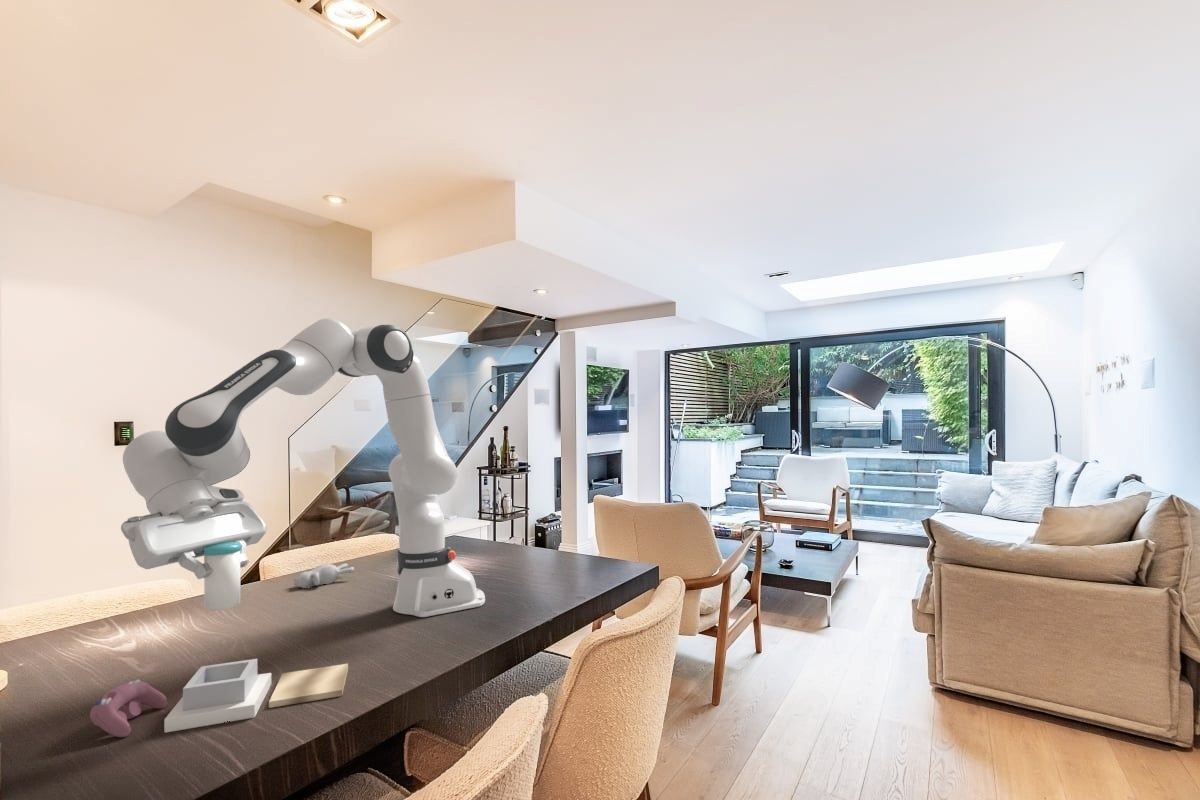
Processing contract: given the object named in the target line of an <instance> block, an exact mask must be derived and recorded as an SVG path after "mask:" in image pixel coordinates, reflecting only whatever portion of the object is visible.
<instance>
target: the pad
mask: <svg viewBox="0 0 1200 800" xmlns="http://www.w3.org/2000/svg"><path fill="white" fill-rule="evenodd" d="M348 671H349V663H342V664H337V665H330V666H322V667H316V668H309V669H303V670H295V671H289V672H282V673H281V676H280V678H279V680H278V682H277V684H276V687H275V689H274V690H273V692H272V694H271V697H270V698H269V701H268V709H271V708H277V707H283V706H284V707H285V706H289V705H295V704H301V703H307V702H313V701H318V700H325V699H330V698H331V699H332V698H336V697H343V693H344V690H345V685H346V680H347V675H348Z"/></svg>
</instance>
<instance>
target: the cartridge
mask: <svg viewBox="0 0 1200 800" xmlns="http://www.w3.org/2000/svg"><path fill="white" fill-rule="evenodd" d="M240 550H241V543H240V542H225V543H220V544H216V545H211V546H207V547H204V556H203V560H204V561H203V564H204V563H208V564H209V565H210V566H209V567H210V568H211V569H212V573H211V574H210V575H209V577H205V578H203V579H204V583H203V584H204V585H203V587H204V591H203V593H204V598H203V599H204V601H203V602H204V606H203V607H204V610H205V611H208V612H209V611H210V612H215V611H223V610H228V609H232V608H235V607H237V606H239V605H240V604H241V568H240Z"/></svg>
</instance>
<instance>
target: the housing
mask: <svg viewBox="0 0 1200 800" xmlns="http://www.w3.org/2000/svg"><path fill="white" fill-rule="evenodd" d="M271 686H272V672H267V673H258V658H252V659H246V660H239V661H231V662H224V663H217V664H216V663H215V664H211V665H203V666H200V668H198V669H197V671H196V672H195V674H194V675H193V676H192V677H191V678H190V680H189V681H187V683H186V685H185V686H184V687H183V688H182V697H181V698H180V699H179V701H178V702H177V703H176V704H175V706H174V707H173V708H172V709H171V710H170V712H169V713H168V714H167V716H166V717H164V724H163V725H164V726H163V727H164V733H170V732H171V733H172V732H176V731H183V730H187V729H189V730H190V729H194V728H199V727H206V726H212V725H216V724H217V725H218V724H223V723H224V722H225V723H229V721H230V722H234V721H235V722H236V721H242V720H247V719H253V718H256V716H257V713H258V711H259V710H260V707H261V705H262V704H263V702H264V699H265V697H266V695H267V694H268V692H269V690H270V688H271ZM227 721H228V722H227Z"/></svg>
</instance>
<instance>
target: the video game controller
mask: <svg viewBox="0 0 1200 800" xmlns="http://www.w3.org/2000/svg"><path fill="white" fill-rule="evenodd" d="M167 704H168V699H167V696H166V695H165V694H164V693H162V691H159V690H157V689H156V688H154V687H152V686H151V685H150V684H149V683H148V682H146V681H141V680H140V679H139V678H138V679H136V680H134V681H133V680H132V681H128V682H126V683H122V684H120V685H118V686H115V687H114V688H112V689H110V690H109V691H108V692H106V693H105V694H104V695H103V696H102V697H101V698H100V700H98V701H97V703H96V704H95V705H93V707H91V708H90V713H89V717H90V720H91V722H92V723H93V725H94V726H97V727H99V728H101V729H102V730H103V731H104V732H106V733H107V734H109V735H111V736H113V737H116V738H126V737H128V736H129V735H130V733H131V732H132V731H131V730H132V729H131V724H130V723H129V721H128V719H129V720H131V719H134V718H135V717H136V718H137V716H139V715H140V714H141V713H142V705H144V706H147V707H150V708H152V709H159V710H160V709H161V710H162V709H164V708H165V707H166V706H167ZM122 707H123V709H122V711H121V710H120V708H122Z"/></svg>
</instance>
